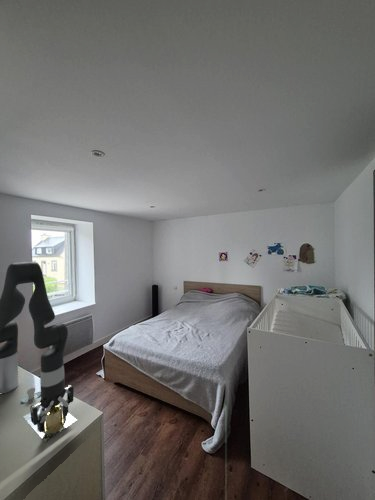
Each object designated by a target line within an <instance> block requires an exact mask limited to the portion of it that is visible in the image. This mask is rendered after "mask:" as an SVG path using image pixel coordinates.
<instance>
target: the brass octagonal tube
mask: <svg viewBox="0 0 375 500" xmlns="http://www.w3.org/2000/svg"><path fill="white" fill-rule="evenodd" d="M62 406H63V405H62V404H60V403H59V405H57V406H55V407H54V408H53V409H51V410H49V413H48V415H46V421H45V431H44V432H43V433H44V434H45V435H47V434H52V433H55V432H57V431H58V430H59V429H61V428H62V427H63V426H64V424H65V422H66V417H65V416H63V415H62Z"/></svg>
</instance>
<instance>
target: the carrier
mask: <svg viewBox="0 0 375 500" xmlns="http://www.w3.org/2000/svg"><path fill="white" fill-rule="evenodd" d="M41 408H42V406H40V407H39V411H38V412H37V414H38V416H39V414H40V410H41ZM45 410H46V409H45ZM22 419H24V420H25V421H26V423H27V424H28V425H29V426H30V427H31V428H32V429H33V431H34V432H36V434H38V436H39V437H40V438H41V439H42V440H43V441H44V443H47V442H49V441H50V440H51V439H53V438H54V437H55V436H57V435H59V434H60V433H61V432H63V431H64V430H65V429H66V428H68V427H70V426H71V425H72V424H74V423H75V422H76V421H78V419H77V418H75V417H74V415H72V414H71V413H69V412H68V414H67V416H66V422H65V424H64V426H63V427H62V428H61V429H59V430H58V431H57V432H55V433H52V434H47V435H45V434H44V433H42V432H40V431H39V429H38V424H37V425H34V424H33V423H32V422H31V412H29V413H27V414H26V415H25V414H24V415H23V417H22ZM44 421H46V417H45V419H44Z"/></svg>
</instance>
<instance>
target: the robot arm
mask: <svg viewBox="0 0 375 500" xmlns="http://www.w3.org/2000/svg"><path fill="white" fill-rule="evenodd" d="M4 278H5V279H4V285H3V290H2V293H1V296H0V344H2V343H4V342H5V343H4V344H2V346H0V393H4V394H7V393H9V392H12V391H13V390H15V389H16V388H17V387H18V385H19V361H18V360H19V357H18V347H19V343H18V342H19V341H18V339H19V326H18V325H19V324H18V323H17V322H16V321H15V319H16V318H17V317H18V316H19V315H20V314H21V313H22V312H23V309H24V307H25V304H26V298H25V296H24V293H22V292H21V291H20V290H19V289H18V288H17V286H18V285H23V284H30V283H33V285H34V290H33V292H32V294H31V297H30V299H29V303H28V311H29V314H30V317H31V319H32V321H33V343H34V346H35V347H36V348H37V349H40V350H43V349H44V350H45V349H47V348H49V347H51V348H49V349H47V350H46V351H45V352H44V353H43V354H41V357H40V376H39V377H40V378H39V379H40V380H39V381H40V392H41V395H40V401H39V402H38V403H36V404H31V406H30V407H29V411H30V412H29V413H31V422H32V423H33V424H34V425H37V424H38V429H39V431H40V432H42V433H43V432H44V431H45V421H44V419H45V417H46V415H48V413H49V410H51V409H53V408H54V407H55V406H57V405H59V404H60V403H61V406H62V415H63V416H65V417H66V416H67V414H68V413H69V405H70V404H71V403H72V402H74V386H73V385H71V384H68V385H67V387H65V386H66V385H65V384H66V382H65V381H66V380H65V378H66V377H65V365H64V351H65V348H66V347H65V346H66V343H67V340H68V335H69V334H68V333H69V331H68V327H67V326H66V325H65V323H56V324H53V325H50V326H46V325H47V324H50V323H52V321H54V319H55V318H56V314H55V311H54V310H53V309H54V308H53V306H52V305H51V302H50V299H49V296H48V292H47V289H46V283H45V279H44V274H43V270H42V268H41V265H40V264H39V262H36V261H21V262H12V263H10V264H9V265H8V266H7V269H6V273H5V277H4ZM45 326H46V327H45ZM65 394H67V396H66V398H67V399H64V396H65ZM41 406H42V408H41V410H40V414H39V416H38V414H37V412H38V411H39V407H41ZM45 409H46V410H45Z"/></svg>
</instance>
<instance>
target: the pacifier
mask: <svg viewBox="0 0 375 500" xmlns="http://www.w3.org/2000/svg"><path fill="white" fill-rule="evenodd" d="M26 394H27V395H26V396H24V397H22V398H21V400H20V402H21V403H23V404H27V403H28V401H26V400H27V399H28V400H32V399H34V398H35V395H36V398H35V399H36V400H37V399H38V398H40V397H41V391H37V392H36V388H35V387H30V388H28V389H27V391H26Z"/></svg>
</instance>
